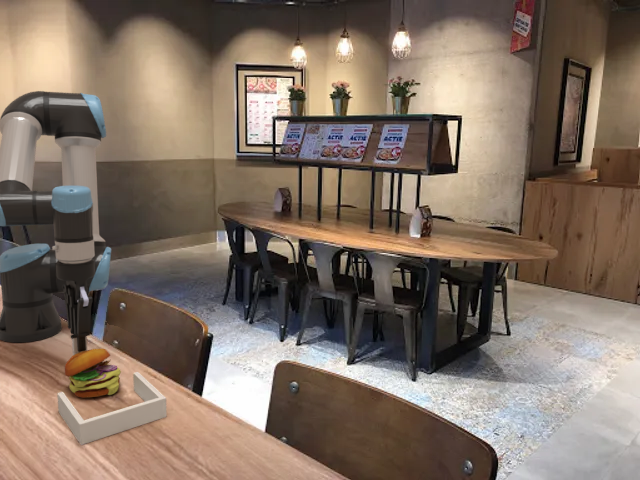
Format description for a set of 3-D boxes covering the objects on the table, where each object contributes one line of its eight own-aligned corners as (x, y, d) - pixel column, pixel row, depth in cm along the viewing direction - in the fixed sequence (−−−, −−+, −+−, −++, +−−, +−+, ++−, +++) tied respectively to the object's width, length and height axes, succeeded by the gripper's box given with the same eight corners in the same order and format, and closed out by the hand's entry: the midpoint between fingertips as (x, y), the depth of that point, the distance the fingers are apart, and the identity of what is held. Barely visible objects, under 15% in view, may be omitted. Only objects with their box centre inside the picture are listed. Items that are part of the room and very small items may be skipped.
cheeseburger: (100, 405, 107) (87, 358, 105) (60, 406, 111) (47, 361, 109) (133, 383, 116) (122, 340, 115) (95, 384, 120) (84, 343, 119)
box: (58, 411, 104) (57, 393, 103) (138, 388, 114) (137, 371, 114) (80, 445, 94) (79, 424, 93) (166, 416, 104) (166, 398, 103)
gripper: (47, 255, 115) (54, 357, 120) (65, 268, 106) (71, 378, 110) (84, 251, 120) (88, 349, 125) (103, 263, 110) (108, 369, 115)
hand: (80, 362), depth 117 cm, fingers closed
